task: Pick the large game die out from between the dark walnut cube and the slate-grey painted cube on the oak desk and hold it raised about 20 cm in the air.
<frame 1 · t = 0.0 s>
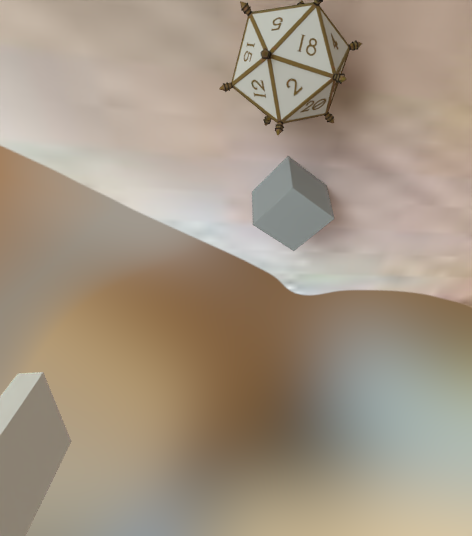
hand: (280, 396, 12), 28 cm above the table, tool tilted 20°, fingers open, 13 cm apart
game die: (285, 44, 31), on the table
slate grey cube: (288, 188, 40), on the table
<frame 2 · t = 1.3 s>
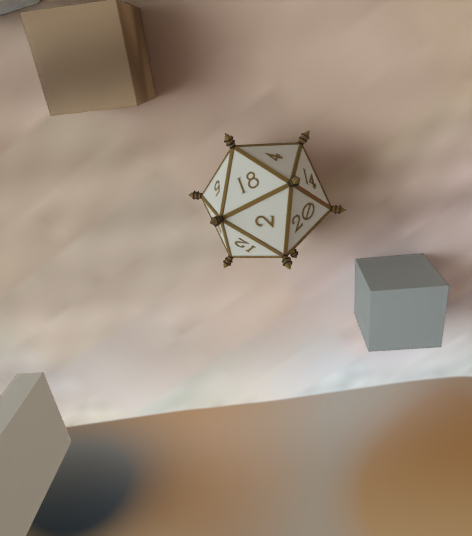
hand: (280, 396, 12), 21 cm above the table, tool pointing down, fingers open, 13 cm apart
game die: (263, 183, 30), on the table
walnut cube: (110, 59, 27), on the table
slate grey cube: (386, 284, 33), on the table
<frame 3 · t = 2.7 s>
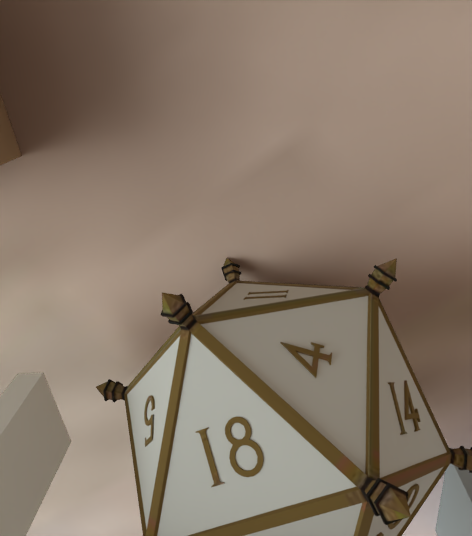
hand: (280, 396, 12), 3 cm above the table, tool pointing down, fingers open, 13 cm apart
game die: (270, 326, 14), on the table
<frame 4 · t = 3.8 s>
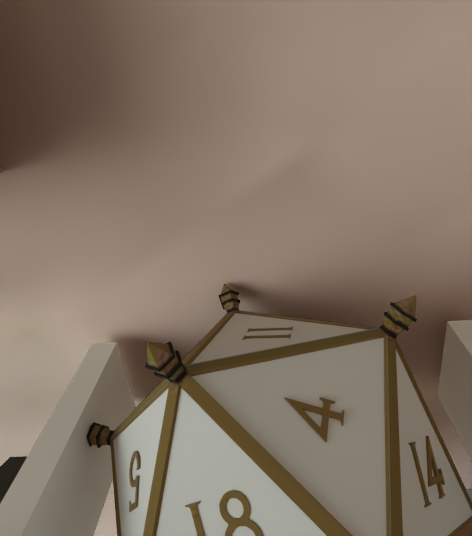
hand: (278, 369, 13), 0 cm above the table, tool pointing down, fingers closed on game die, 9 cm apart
game die: (272, 355, 13), on the table, touching gripper
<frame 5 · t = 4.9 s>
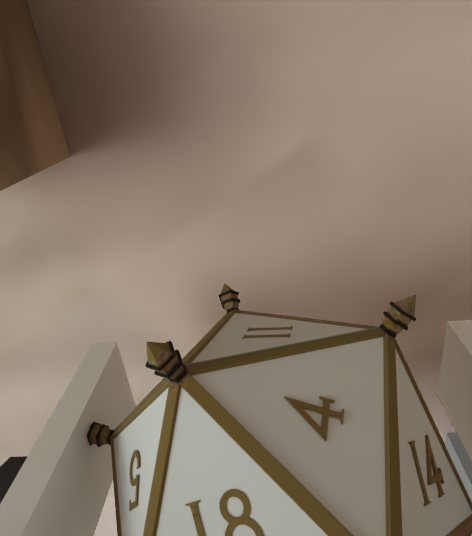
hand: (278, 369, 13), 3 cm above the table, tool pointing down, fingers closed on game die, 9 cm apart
game die: (272, 355, 13), point 3 cm above the table, touching gripper
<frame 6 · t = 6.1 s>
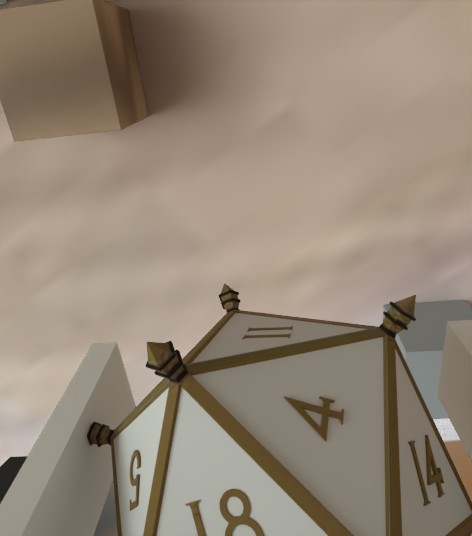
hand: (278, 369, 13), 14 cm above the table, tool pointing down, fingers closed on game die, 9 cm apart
game die: (272, 355, 13), point 13 cm above the table, touching gripper
walnut cube: (93, 71, 22), on the table
slate grey cube: (420, 333, 28), on the table
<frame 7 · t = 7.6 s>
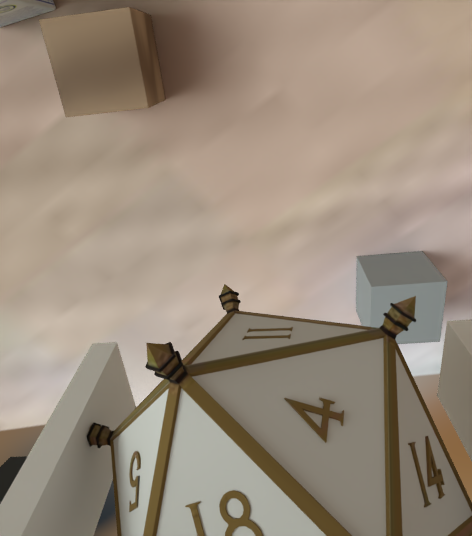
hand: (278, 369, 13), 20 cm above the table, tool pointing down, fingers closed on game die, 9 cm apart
game die: (272, 355, 13), point 20 cm above the table, touching gripper
walnut cube: (121, 63, 28), on the table
slate grey cube: (387, 281, 34), on the table
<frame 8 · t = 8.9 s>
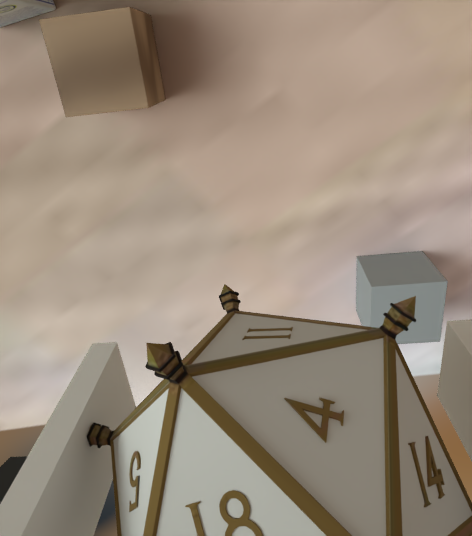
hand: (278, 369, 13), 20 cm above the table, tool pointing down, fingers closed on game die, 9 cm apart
game die: (272, 355, 13), point 20 cm above the table, touching gripper
walnut cube: (121, 63, 28), on the table
slate grey cube: (387, 281, 34), on the table
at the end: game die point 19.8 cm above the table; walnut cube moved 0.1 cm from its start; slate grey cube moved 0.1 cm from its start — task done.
